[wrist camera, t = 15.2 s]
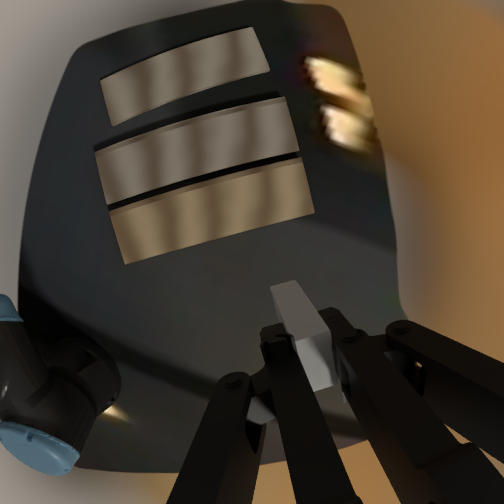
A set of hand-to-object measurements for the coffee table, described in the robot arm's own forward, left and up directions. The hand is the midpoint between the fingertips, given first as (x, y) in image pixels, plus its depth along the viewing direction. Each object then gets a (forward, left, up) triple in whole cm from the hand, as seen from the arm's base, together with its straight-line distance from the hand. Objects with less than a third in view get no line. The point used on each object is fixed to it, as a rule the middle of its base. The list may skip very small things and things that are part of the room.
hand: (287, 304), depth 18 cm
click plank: (-5, +14, -26) cm, 30 cm away
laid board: (-5, +5, -26) cm, 27 cm away
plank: (-4, +26, -27) cm, 38 cm away
